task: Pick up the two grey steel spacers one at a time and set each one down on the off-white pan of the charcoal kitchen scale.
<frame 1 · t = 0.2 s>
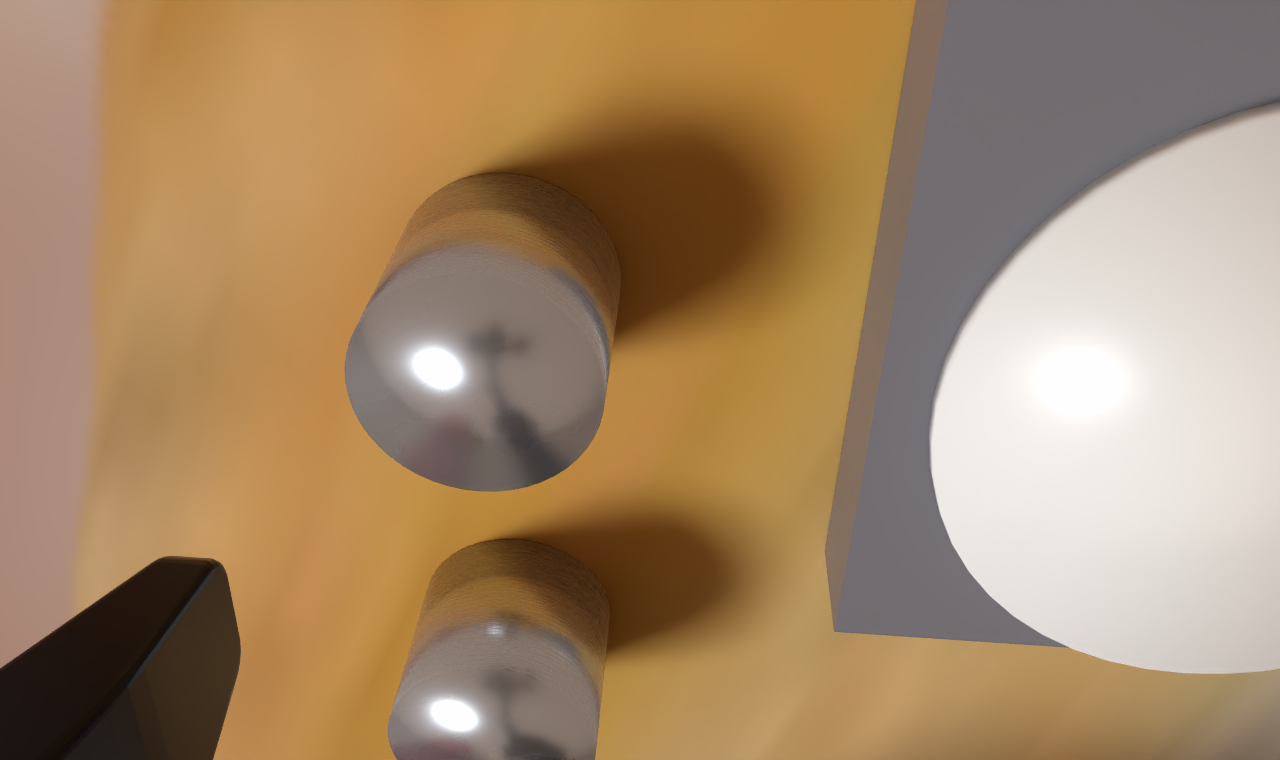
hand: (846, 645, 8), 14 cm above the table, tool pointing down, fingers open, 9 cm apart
steel spacer 2: (509, 276, 23), on the table
steel spacer 1: (518, 608, 28), on the table
scale: (1245, 276, 22), on the table
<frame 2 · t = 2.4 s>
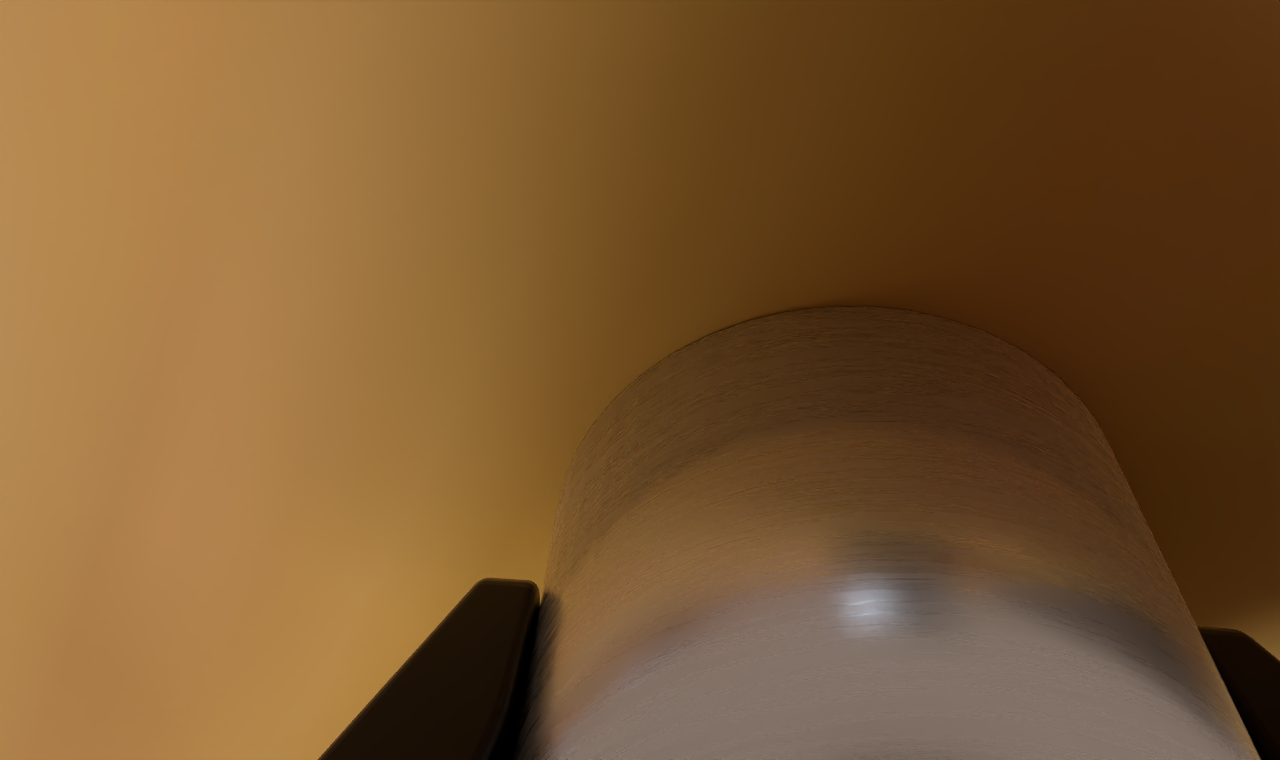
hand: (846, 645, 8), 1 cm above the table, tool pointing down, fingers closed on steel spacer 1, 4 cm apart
steel spacer 1: (833, 550, 9), on the table, touching gripper
when the fingers open (5 cm above the table, at t = 6.6 s): steel spacer 1 stays where it is, resting on scale.
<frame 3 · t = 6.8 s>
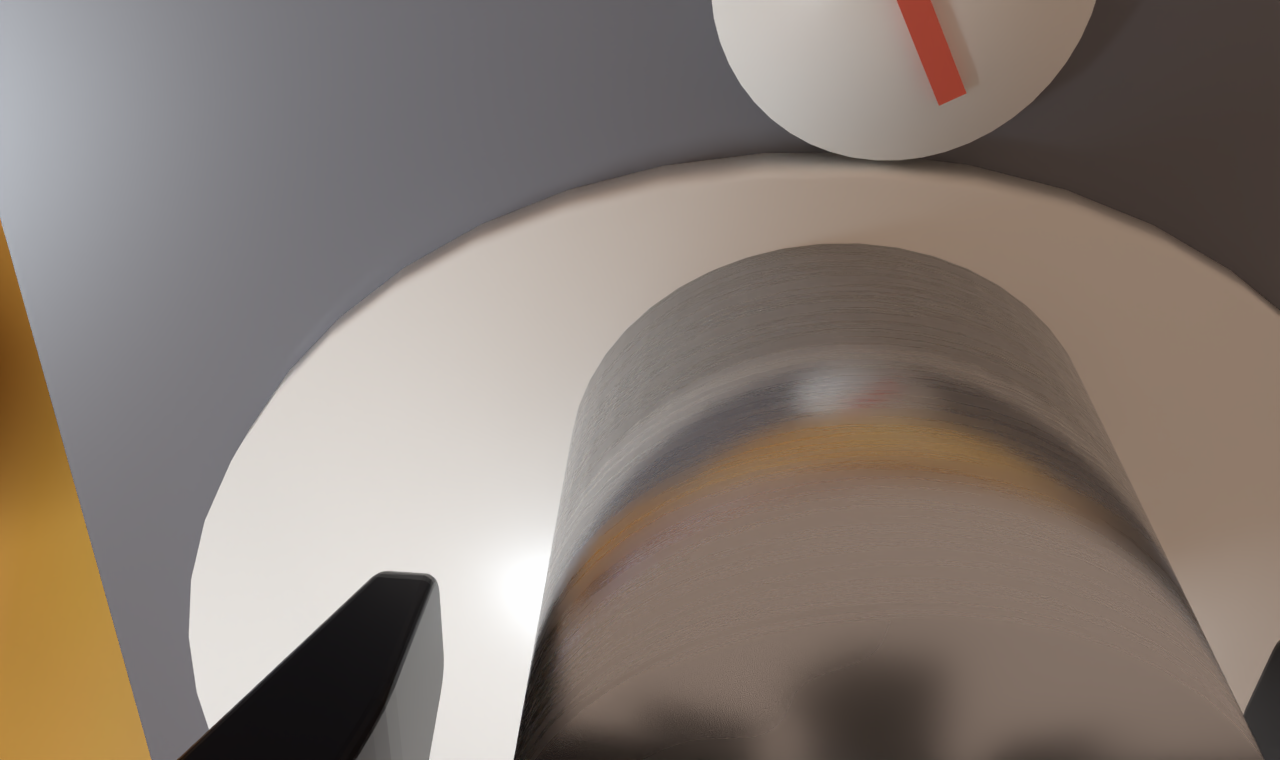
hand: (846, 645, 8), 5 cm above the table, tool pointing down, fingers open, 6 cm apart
steel spacer 1: (826, 475, 10), point 3 cm above the table, touching scale
scale: (787, 439, 14), on the table
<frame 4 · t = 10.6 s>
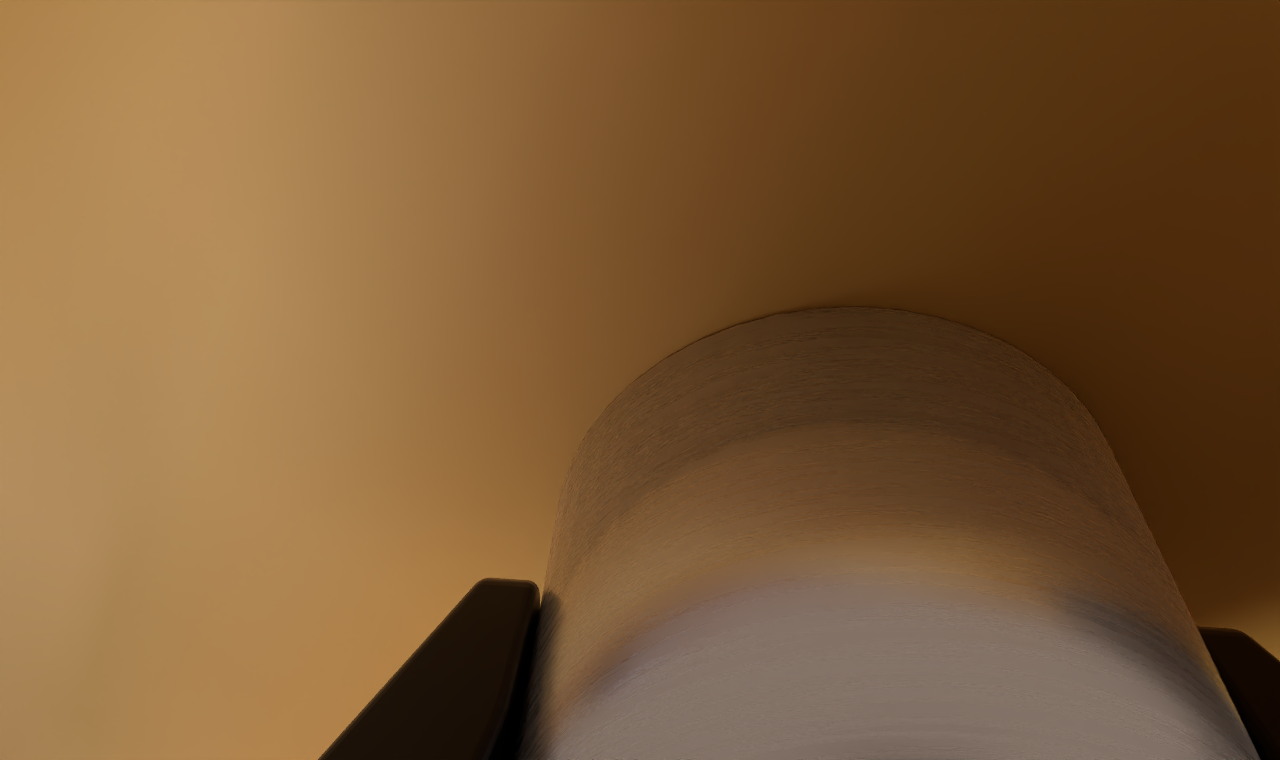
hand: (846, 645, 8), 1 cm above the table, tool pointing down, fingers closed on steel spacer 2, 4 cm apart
steel spacer 2: (833, 551, 9), on the table, touching gripper
when the fingers open (5 cm above the table, at t = 14.3 s): steel spacer 2 stays where it is, resting on scale.
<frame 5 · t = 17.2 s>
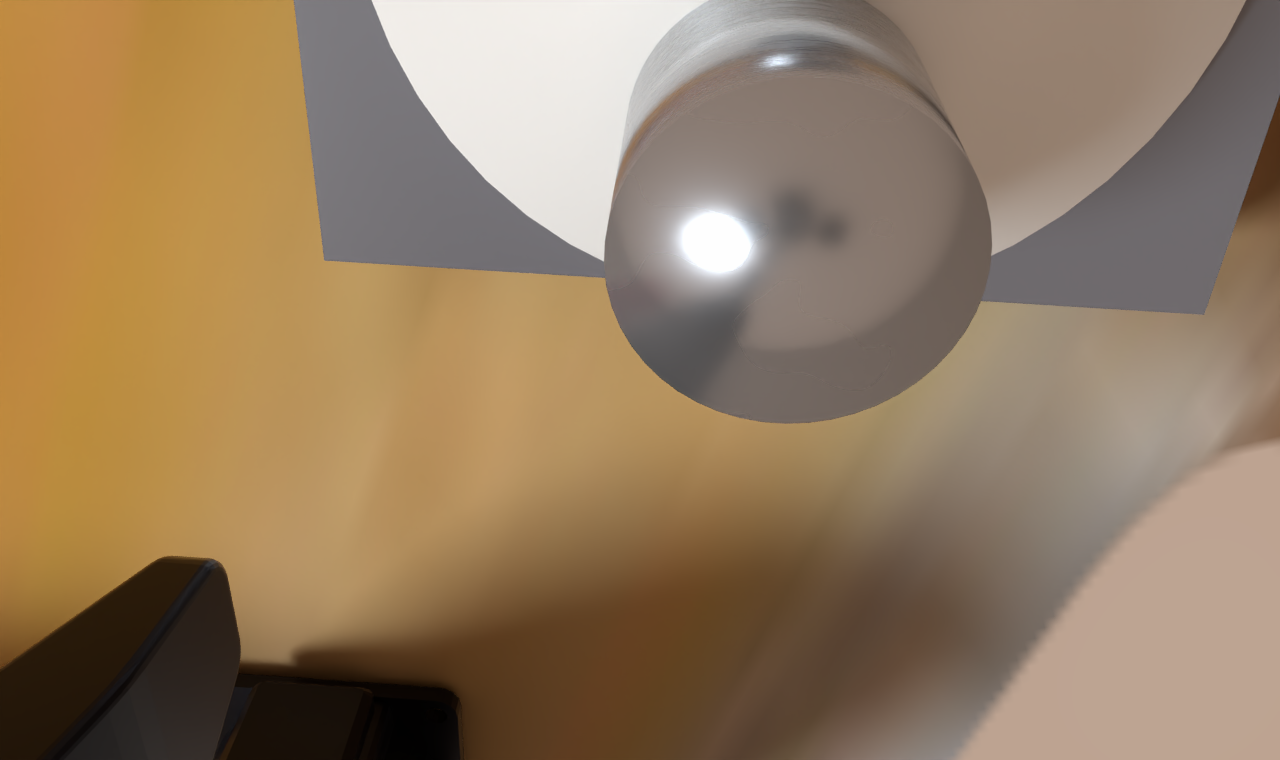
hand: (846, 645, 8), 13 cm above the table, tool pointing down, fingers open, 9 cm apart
steel spacer 2: (778, 137, 17), point 3 cm above the table, touching scale
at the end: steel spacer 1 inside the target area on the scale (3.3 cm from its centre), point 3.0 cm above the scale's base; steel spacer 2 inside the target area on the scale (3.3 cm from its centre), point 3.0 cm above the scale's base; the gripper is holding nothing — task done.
